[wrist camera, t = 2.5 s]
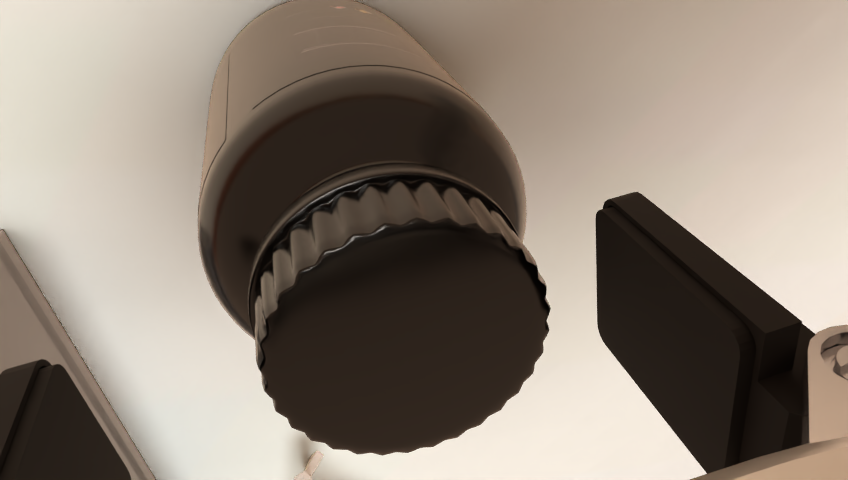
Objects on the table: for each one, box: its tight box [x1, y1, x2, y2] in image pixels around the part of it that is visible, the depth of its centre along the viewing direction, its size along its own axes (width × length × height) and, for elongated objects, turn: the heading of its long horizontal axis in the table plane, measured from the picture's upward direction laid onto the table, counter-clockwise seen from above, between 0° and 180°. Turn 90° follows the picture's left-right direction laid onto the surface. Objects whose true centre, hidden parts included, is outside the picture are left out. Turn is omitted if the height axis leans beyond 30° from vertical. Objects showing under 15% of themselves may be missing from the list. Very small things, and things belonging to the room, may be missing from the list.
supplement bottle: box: [198, 0, 550, 455], centre depth 15 cm, size 7×7×12 cm
